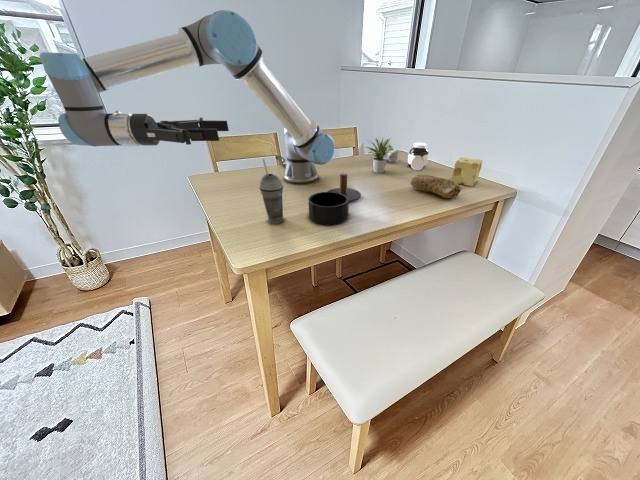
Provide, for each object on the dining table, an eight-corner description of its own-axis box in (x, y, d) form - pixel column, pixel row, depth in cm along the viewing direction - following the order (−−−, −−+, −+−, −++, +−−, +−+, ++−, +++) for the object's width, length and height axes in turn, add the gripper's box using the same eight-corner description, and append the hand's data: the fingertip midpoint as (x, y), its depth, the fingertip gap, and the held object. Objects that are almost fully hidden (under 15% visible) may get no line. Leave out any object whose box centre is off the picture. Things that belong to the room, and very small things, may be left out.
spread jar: (420, 164, 155) (423, 141, 148) (432, 169, 146) (437, 146, 140) (401, 165, 151) (404, 143, 144) (413, 171, 142) (417, 148, 136)
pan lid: (324, 190, 117) (323, 169, 112) (357, 189, 119) (357, 168, 114) (327, 204, 105) (327, 180, 100) (364, 202, 108) (365, 179, 102)
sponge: (460, 199, 116) (428, 176, 127) (466, 183, 110) (431, 161, 121) (437, 210, 112) (405, 186, 123) (441, 194, 106) (408, 170, 117)
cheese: (472, 187, 126) (479, 164, 120) (449, 182, 130) (454, 160, 124) (477, 181, 133) (483, 159, 127) (454, 176, 138) (460, 155, 132)
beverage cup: (281, 226, 89) (273, 163, 78) (260, 224, 91) (249, 161, 79) (290, 217, 95) (283, 157, 84) (270, 215, 96) (261, 155, 85)
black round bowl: (308, 209, 101) (307, 192, 97) (344, 207, 103) (344, 191, 99) (310, 226, 90) (309, 208, 86) (351, 224, 92) (351, 206, 89)
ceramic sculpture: (391, 148, 146) (373, 144, 157) (389, 164, 151) (372, 160, 161) (405, 146, 152) (387, 142, 162) (403, 162, 156) (386, 158, 167)
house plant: (374, 165, 151) (377, 132, 141) (397, 170, 144) (401, 136, 135) (360, 171, 141) (361, 136, 132) (383, 176, 135) (387, 140, 125)
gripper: (103, 121, 60) (208, 121, 63) (150, 108, 80) (228, 109, 83) (119, 157, 64) (216, 156, 67) (160, 136, 84) (233, 135, 87)
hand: (223, 130), depth 75 cm, fingers open, 13 cm apart
